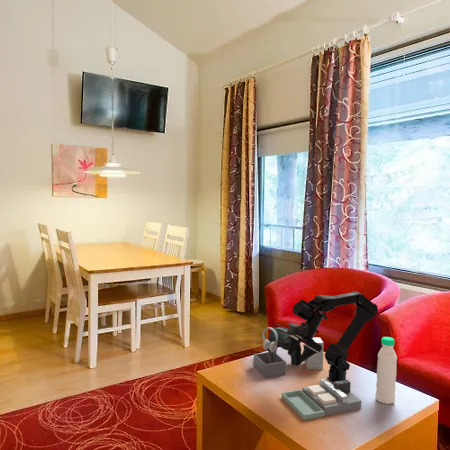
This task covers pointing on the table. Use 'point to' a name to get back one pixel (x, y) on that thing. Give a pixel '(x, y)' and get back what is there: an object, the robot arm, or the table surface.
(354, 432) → the table surface
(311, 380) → the table surface
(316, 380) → the table surface
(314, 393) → the tile
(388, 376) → the water bottle
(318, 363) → the supplement box
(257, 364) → the gray open box
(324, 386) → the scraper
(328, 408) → the board
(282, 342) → the power drill
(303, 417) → the bin
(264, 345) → the headphones
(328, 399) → the tile
